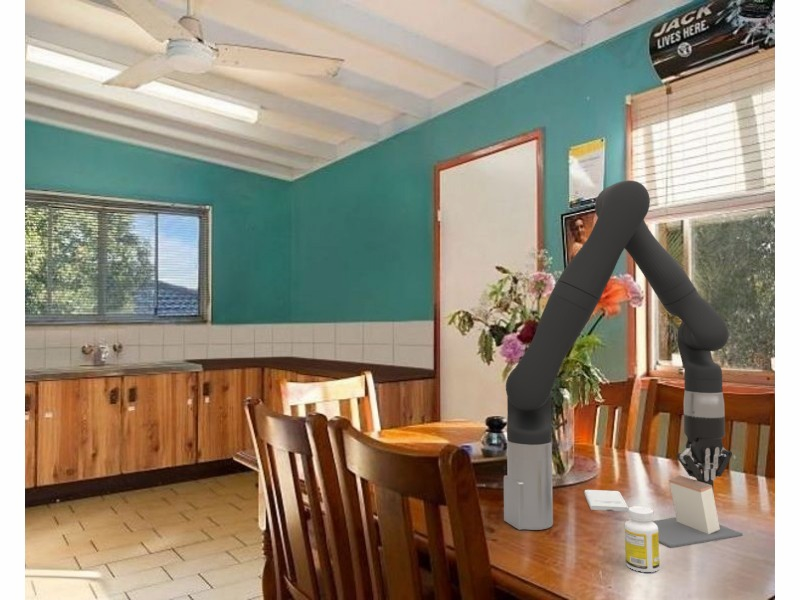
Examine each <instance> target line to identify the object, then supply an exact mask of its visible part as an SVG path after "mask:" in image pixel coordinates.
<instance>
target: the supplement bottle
mask: <svg viewBox="0 0 800 600" xmlns="http://www.w3.org/2000/svg"><path fill="white" fill-rule="evenodd" d="M628 518H629V519H628V520H626V521H625V523H624V541H625V543H624V545H625V546H624V547H625V548H624V549H625V563H626V566H627V568H628V569H630V568H631V570H632V569H633V570H632V571H635V570H636V571H635V572H638V571H641V572H640V573H644V572H651V573H656V572H658V571H659V570H660V548H659V546H660V545H659V544H660V543H659V537H658V527H657V525H656V524H655V523H654V522H652V521H654V518H655V516H654V511H653V509H652V508H649V507H647V506H646V507H645V506H630V507H629V512H628ZM655 571H656V572H655Z"/></svg>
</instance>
